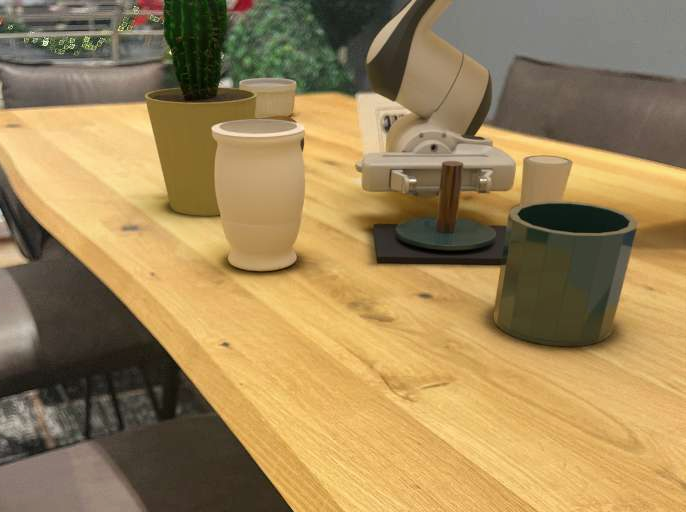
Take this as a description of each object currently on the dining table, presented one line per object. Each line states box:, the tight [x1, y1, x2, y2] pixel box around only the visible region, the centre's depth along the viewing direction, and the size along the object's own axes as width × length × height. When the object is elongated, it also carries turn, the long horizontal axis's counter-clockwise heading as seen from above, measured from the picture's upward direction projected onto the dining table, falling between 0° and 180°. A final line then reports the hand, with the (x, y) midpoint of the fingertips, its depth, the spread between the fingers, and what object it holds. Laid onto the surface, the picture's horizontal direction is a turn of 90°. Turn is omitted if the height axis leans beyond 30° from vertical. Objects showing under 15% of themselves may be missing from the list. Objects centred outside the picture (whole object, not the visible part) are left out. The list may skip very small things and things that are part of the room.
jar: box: [212, 119, 306, 272], centre depth 89 cm, size 11×10×15 cm
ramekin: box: [238, 77, 297, 118], centre depth 176 cm, size 13×13×7 cm
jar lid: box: [396, 161, 496, 250], centre depth 95 cm, size 13×13×9 cm
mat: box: [372, 223, 507, 266], centre depth 98 cm, size 18×14×1 cm
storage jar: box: [493, 200, 639, 348], centre depth 75 cm, size 12×12×10 cm
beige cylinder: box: [519, 154, 574, 206], centre depth 111 cm, size 7×7×7 cm
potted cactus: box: [144, 0, 257, 217], centre depth 105 cm, size 15×15×30 cm
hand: (448, 187), depth 95 cm, fingers open, 8 cm apart
